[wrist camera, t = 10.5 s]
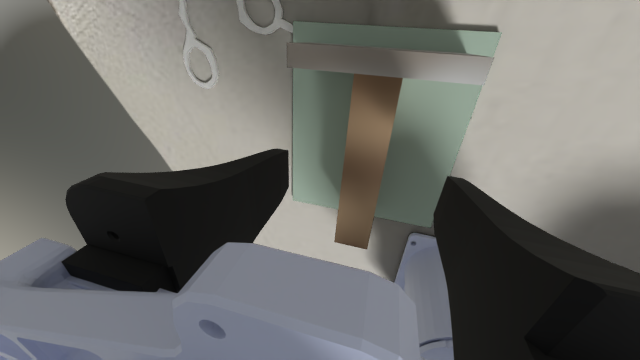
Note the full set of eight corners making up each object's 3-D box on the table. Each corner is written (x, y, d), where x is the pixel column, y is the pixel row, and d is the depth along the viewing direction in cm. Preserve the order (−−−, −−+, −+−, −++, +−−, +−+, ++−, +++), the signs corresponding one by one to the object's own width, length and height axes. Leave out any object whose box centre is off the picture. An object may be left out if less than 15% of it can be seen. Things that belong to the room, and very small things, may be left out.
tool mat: (429, 225, 22) (430, 227, 22) (294, 198, 25) (292, 200, 25) (499, 32, 15) (501, 32, 15) (294, 21, 17) (293, 21, 17)
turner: (414, 219, 22) (419, 261, 18) (307, 197, 24) (288, 231, 20) (466, 53, 15) (494, 57, 11) (312, 42, 17) (286, 42, 13)
